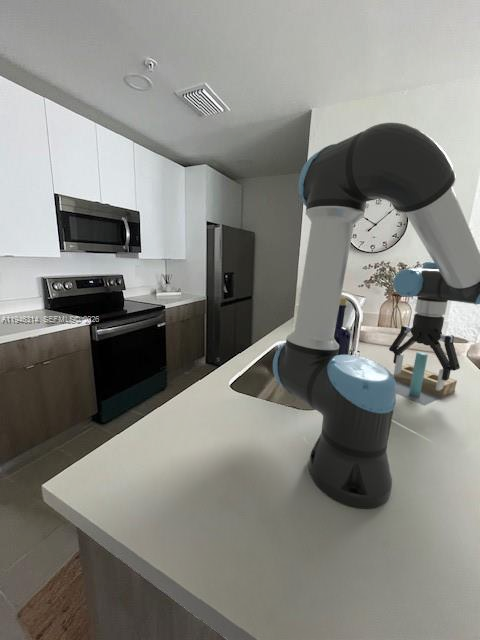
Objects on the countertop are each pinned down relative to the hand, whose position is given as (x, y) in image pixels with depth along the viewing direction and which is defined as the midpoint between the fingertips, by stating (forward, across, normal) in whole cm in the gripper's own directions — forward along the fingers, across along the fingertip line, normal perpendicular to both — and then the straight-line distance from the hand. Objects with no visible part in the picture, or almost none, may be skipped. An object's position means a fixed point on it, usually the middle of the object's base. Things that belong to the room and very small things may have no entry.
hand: (416, 380), depth 86 cm
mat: (+5, +4, -6) cm, 9 cm away
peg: (+5, 0, 0) cm, 5 cm away
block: (+5, +3, -11) cm, 12 cm away
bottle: (+6, +20, +15) cm, 26 cm away
